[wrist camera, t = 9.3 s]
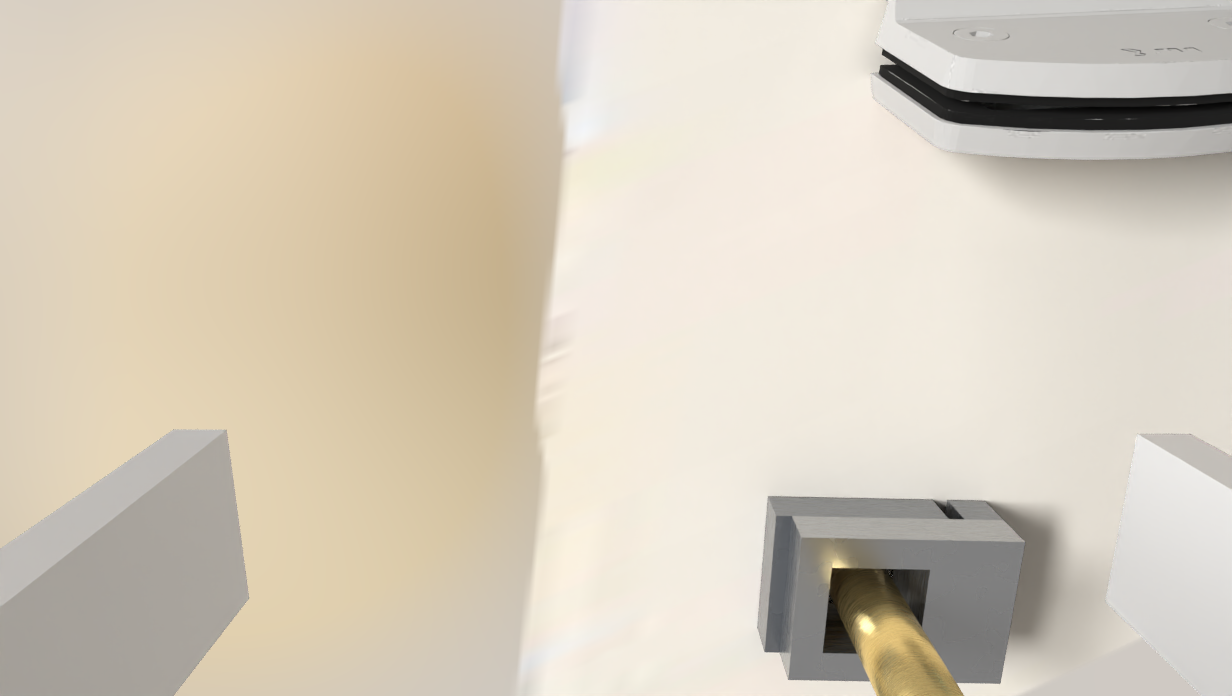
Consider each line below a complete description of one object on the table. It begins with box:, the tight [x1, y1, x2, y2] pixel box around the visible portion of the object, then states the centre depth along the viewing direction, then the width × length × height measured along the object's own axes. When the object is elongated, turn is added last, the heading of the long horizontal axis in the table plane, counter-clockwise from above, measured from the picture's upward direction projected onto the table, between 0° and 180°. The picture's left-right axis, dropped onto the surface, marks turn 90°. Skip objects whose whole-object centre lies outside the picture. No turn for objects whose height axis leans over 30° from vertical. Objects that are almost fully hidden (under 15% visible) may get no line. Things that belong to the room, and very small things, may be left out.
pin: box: [829, 568, 964, 696], centre depth 37 cm, size 3×3×14 cm
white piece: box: [871, 0, 1232, 160], centre depth 33 cm, size 17×5×10 cm, turn 92°
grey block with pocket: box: [757, 497, 1025, 684], centre depth 42 cm, size 12×8×4 cm
